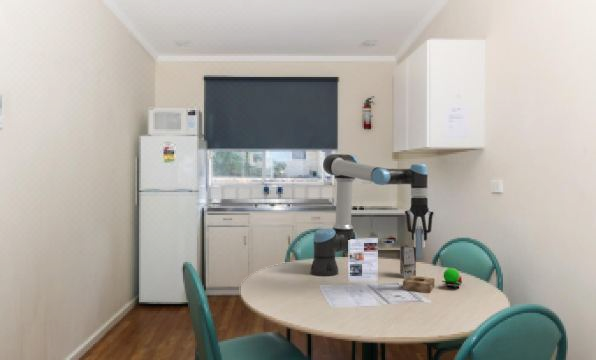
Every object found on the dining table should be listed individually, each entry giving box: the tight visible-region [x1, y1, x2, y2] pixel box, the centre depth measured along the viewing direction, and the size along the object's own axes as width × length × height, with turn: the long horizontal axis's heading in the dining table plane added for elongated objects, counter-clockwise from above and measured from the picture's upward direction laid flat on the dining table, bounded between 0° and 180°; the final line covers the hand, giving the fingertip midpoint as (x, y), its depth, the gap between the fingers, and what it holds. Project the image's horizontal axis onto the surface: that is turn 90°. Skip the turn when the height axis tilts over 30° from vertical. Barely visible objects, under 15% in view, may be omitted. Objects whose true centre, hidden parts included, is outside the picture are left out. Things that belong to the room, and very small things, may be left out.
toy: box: [441, 267, 463, 289], centre depth 201 cm, size 8×8×15 cm
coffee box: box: [399, 244, 417, 279], centre depth 221 cm, size 9×6×16 cm
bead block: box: [402, 275, 435, 294], centre depth 198 cm, size 12×12×4 cm
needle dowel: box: [415, 225, 424, 260], centre depth 197 cm, size 3×3×15 cm
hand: (419, 247), depth 197 cm, fingers closed on needle dowel, 3 cm apart
